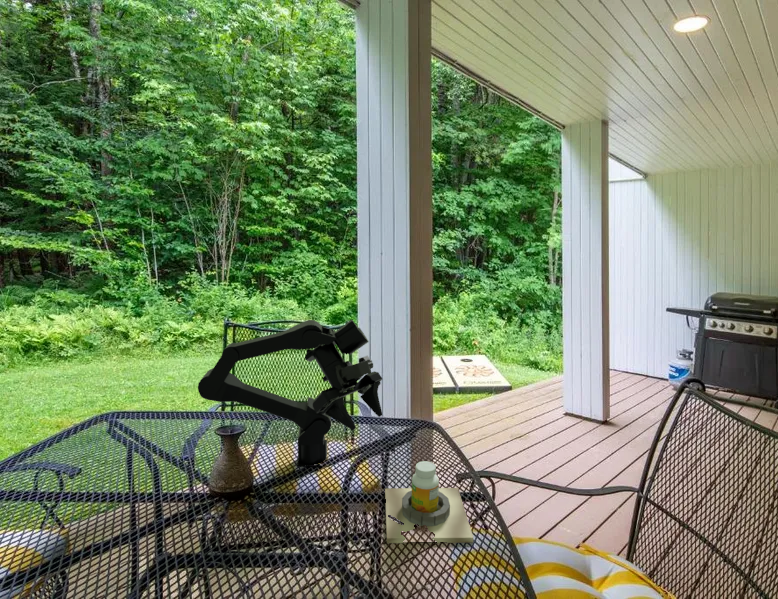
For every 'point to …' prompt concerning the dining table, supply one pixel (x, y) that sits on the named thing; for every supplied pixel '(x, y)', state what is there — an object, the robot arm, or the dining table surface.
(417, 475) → the supplement bottle
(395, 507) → the ring holder
